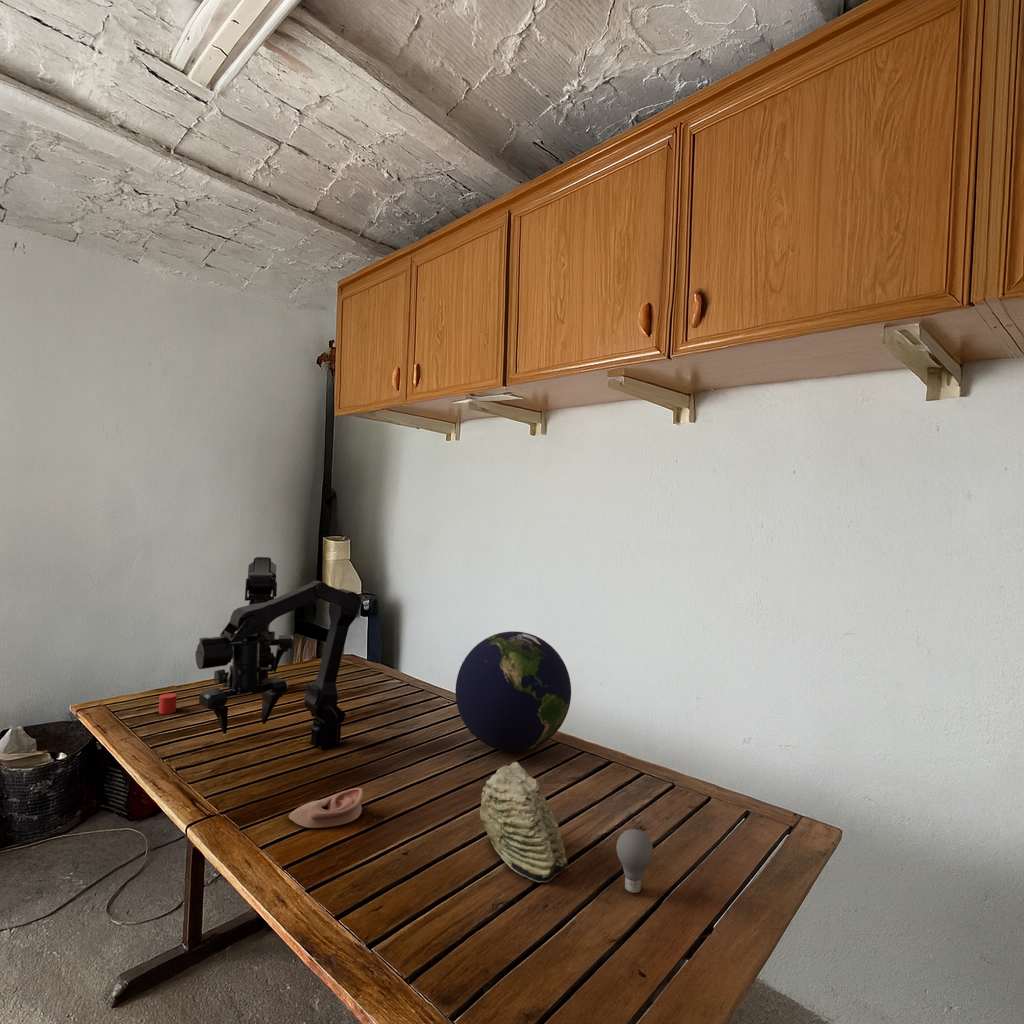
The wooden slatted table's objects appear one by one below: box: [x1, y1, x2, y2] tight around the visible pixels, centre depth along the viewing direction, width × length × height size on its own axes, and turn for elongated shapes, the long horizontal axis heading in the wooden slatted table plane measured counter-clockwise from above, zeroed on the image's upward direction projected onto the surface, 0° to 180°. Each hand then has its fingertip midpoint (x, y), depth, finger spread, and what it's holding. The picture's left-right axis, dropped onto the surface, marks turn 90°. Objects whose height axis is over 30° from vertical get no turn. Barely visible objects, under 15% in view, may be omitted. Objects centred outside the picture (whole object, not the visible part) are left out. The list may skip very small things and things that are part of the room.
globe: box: [454, 630, 572, 753], centre depth 164 cm, size 30×30×30 cm
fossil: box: [479, 761, 569, 883], centre depth 114 cm, size 9×18×15 cm, turn 46°
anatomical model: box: [288, 787, 364, 829], centre depth 126 cm, size 13×4×12 cm
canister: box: [158, 692, 178, 715], centre depth 180 cm, size 4×4×4 cm
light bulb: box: [615, 828, 654, 894], centre depth 106 cm, size 6×6×10 cm
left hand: (257, 672), depth 180 cm, fingers open, 9 cm apart
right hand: (244, 728), depth 148 cm, fingers open, 9 cm apart
